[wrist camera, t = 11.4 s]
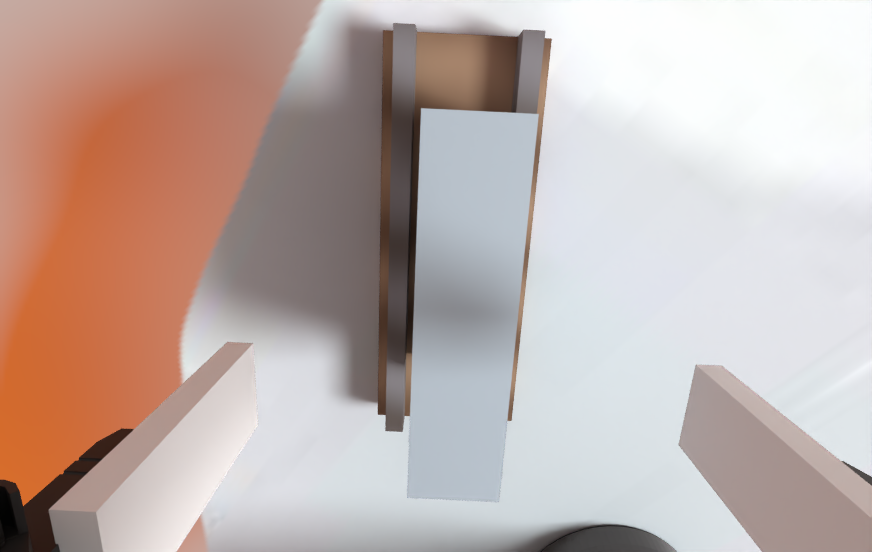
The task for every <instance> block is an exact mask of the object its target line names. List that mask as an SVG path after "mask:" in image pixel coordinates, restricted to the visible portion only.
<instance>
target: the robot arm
mask: <svg viewBox="0 0 872 552" xmlns="http://www.w3.org/2000/svg"><path fill="white" fill-rule="evenodd" d="M257 426H258V412H257V396H256V380H255V364H254V348H253V343H235V342H227V343H226V344H225V345H224V346H223V347H222V348H220V349H219V350H218V351H217V352H216V353H215V354H214V355H213V356H212V357H211V358H210V359H209V360H208V361H207V362H206V363H204V364H203V365H202V366H201V367H200V368H199V369H198V370H197V371H196V372H195V373H194V374H193V375H192V376H191V377H190V378H188V379H187V380H186V381H185V382H184V383H183V384H182V385H181V386H180V387H179V388H178V389H177V390H176V391H175V392H174V393H172V394H171V395H170V396H169V397H168V398H167V399H166V400H165V401H164V402H163V403H162V404H161V405H160V406H159V407H158V408H156V409H155V410H154V411H153V412H152V413H151V414H150V415H149V416H148V417H147V418H146V419H145V420H144V421H143V422H142V423H141V424H139V425H138V426H137V427H136V428H135V429H120V430H118V431H116V432H115V433H113V434H111V435H109V436H107V437H105V438H103V439H102V440H100V441H98V442H96V443H95V444H94V445H93V446H92V447H91V448H90V449H88V450H87V451H86V452H85V453H84V454H83V455H82V456H81V457H79V460H78V461H75V462H74V463H73V464H71V465H70V466H69V467H68V468H67V469H66V470H65V471H64V473H63V474H60V475H59V476H58V477H56V478H55V479H54V480H53V481H52V482H51V483H50V484H48V485H47V486H46V487H45V488H44V489H43V490H42V491H41V492H39V493H38V494H37V495H36V496H35V497H33V499H31V500H30V501H29V502H28V503H27V504H25V505H24V506H23V505H22V500H21V496H20V492H19V489H18V488H17V485H16V483H13V482H10V481H6V480H0V552H177V550H178V549H179V547H180V545H181V544H182V542H183V541H184V539H185V538H186V536H187V534H188V533H189V532H190V530H191V528H192V527H193V525H194V524H195V522H196V520H197V519H198V518H199V516H200V515H201V513H202V511H203V510H204V508H205V507H206V505H207V504H208V502H209V501H210V499H211V498H212V496H213V494H214V493H215V491H216V490H217V488H218V487H219V485H220V484H221V482H222V480H223V479H224V477H225V476H226V474H227V473H228V471H229V470H230V468H231V467H232V465H233V463H234V462H235V460H236V459H237V457H238V456H239V454H240V453H241V451H242V449H243V448H244V446H245V445H246V443H247V442H248V440H249V439H250V437H251V436H252V434H253V432H254V431H255V429H256V428H257ZM679 446H680V447H681V449H682V450H683V451H684V453H685V454H686V455H687V456H688V458H689V459H690V460H691V461H692V463H693V464H694V465H695V467H696V468H697V469H698V470H699V472H700V473H701V474H702V476H703V477H704V478H705V479H706V481H707V482H708V483H709V484H710V486H711V487H712V488H713V490H714V491H715V492H716V493H717V495H718V496H719V497H720V499H721V500H722V501H723V502H724V504H725V505H726V506H727V507H728V509H729V510H730V511H731V513H732V514H733V515H734V516H735V518H736V519H737V520H738V522H739V523H740V524H741V525H742V527H743V528H744V529H745V530H746V532H747V533H748V534H749V536H750V537H751V538H752V539H753V541H754V542H755V543H756V545H757V546H758V547H759V548H760V550H761V551H762V552H872V477H871V476H869V475H867V474H865V473H864V472H862V471H860V470H858V469H856V468H855V467H853V466H851V465H849V464H847V463H845V462H844V461H840V460H839V459H838V458H836V457H835V456H834V455H833V454H831V453H830V452H829V451H828V450H826V449H825V448H824V447H823V446H821V445H820V444H819V443H818V442H816V441H815V440H814V439H813V438H811V437H810V436H809V435H808V434H806V433H805V432H804V431H803V430H801V429H800V428H799V427H798V426H796V425H795V424H794V423H793V422H791V421H790V420H789V419H788V418H786V417H785V416H784V415H783V414H781V413H780V412H779V411H778V410H776V409H775V408H774V407H773V406H771V405H770V404H769V403H768V402H766V401H765V400H764V399H763V398H761V397H760V396H759V395H758V394H756V393H755V392H754V391H753V390H751V389H750V388H749V387H748V386H746V385H745V384H744V383H743V382H741V381H740V380H739V379H738V378H736V377H735V376H734V375H733V374H731V373H730V372H729V371H728V370H726V369H725V368H724V367H723V366H715V365H696V366H695V371H694V376H693V380H692V385H691V390H690V394H689V399H688V404H687V408H686V413H685V417H684V422H683V427H682V431H681V436H680V441H679ZM541 552H677V551H676V550H675V549H674V548H673V547H671V546H670V545H669V544H668V543H666V542H665V541H663V540H662V539H660V538H658V537H656V536H655V535H652V534H650V533H647V532H645V531H641V530H638V529H633V528H628V527H618V526H606V527H596V528H590V529H585V530H581V531H578V532H575V533H572V534H569V535H567V536H565V537H563V538H561V539H559V540H557V541H555V542H554V543H552V544H550V545H549V546H548V547H546V548H545V549H544V550H542V551H541Z"/></svg>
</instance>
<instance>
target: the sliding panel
mask: <svg viewBox="0 0 872 552" xmlns="http://www.w3.org/2000/svg"><path fill="white" fill-rule="evenodd" d="M538 117H539V114H528V113H508V112H487V111H467V110H447V109H426V108H421V126H420V153H419V181H418V209H417V236H416V264H415V292H414V319H413V347H412V375H411V402H410V430H409V458H408V485H407V498H422V499H443V500H465V501H486V502H499V497H500V487H501V477H502V468H503V458H504V448H505V438H506V429H507V419H508V409H509V399H510V390H511V380H512V370H513V360H514V351H515V341H516V331H517V321H518V312H519V302H520V292H521V282H522V273H523V263H524V253H525V243H526V234H527V224H528V214H529V204H530V195H531V185H532V175H533V165H534V156H535V146H536V136H537V126H538Z"/></svg>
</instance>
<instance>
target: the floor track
mask: <svg viewBox="0 0 872 552" xmlns="http://www.w3.org/2000/svg"><path fill="white" fill-rule="evenodd" d="M551 40H552V39H547V38H545V31H539V30H523V31H522V33H521V34H520V35H519V36H518V37H507V36H487V35H467V34H447V33H427V32H417V30H416V26H415V24H399V23H393V31H387V30H383V85H382V155H381V225H380V295H379V365H378V415H386V430H385V431H397V432H402V431H403V424H404V416H410V402H411V375H412V347H413V319H414V292H415V264H416V236H417V209H418V181H419V153H420V126H421V108H426V109H447V110H467V111H487V112H508V113H528V114H539V117H538V126H537V136H536V146H535V156H534V165H533V175H532V185H531V195H530V204H529V214H528V224H527V234H526V243H525V253H524V263H523V273H522V282H521V292H520V302H519V312H518V321H517V331H516V341H515V351H514V360H513V370H512V380H511V390H510V399H509V409H508V419H507V421H511V420H512V410H513V401H514V391H515V382H516V372H517V363H518V353H519V344H520V334H521V325H522V315H523V306H524V296H525V287H526V277H527V268H528V258H529V249H530V239H531V230H532V221H533V211H534V202H535V192H536V183H537V173H538V164H539V154H540V145H541V135H542V126H543V116H544V107H545V97H546V88H547V78H548V69H549V59H550V50H551Z"/></svg>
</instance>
